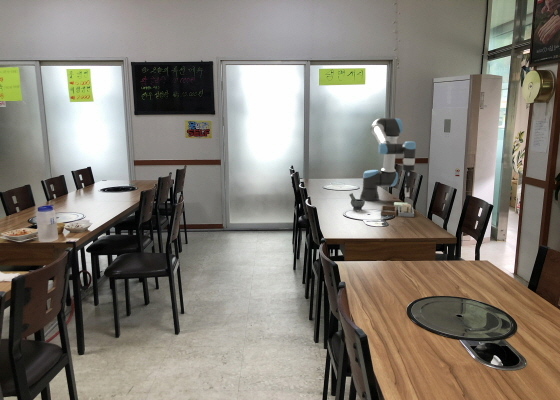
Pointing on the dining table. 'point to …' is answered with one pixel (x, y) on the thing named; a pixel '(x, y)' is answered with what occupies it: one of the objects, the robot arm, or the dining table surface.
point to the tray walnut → (388, 209)
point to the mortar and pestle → (356, 202)
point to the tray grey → (405, 213)
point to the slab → (398, 204)
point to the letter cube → (406, 208)
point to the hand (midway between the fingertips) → (406, 195)
